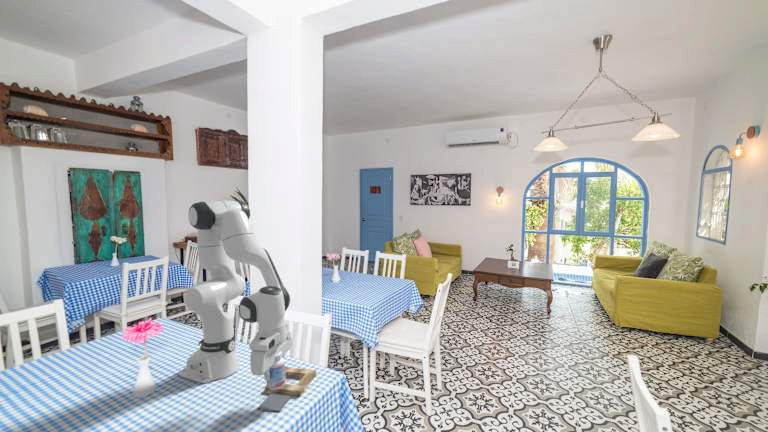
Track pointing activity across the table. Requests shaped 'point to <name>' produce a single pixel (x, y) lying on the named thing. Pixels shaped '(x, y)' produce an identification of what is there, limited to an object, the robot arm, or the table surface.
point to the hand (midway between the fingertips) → (274, 373)
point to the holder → (297, 389)
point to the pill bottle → (277, 373)
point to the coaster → (274, 402)
